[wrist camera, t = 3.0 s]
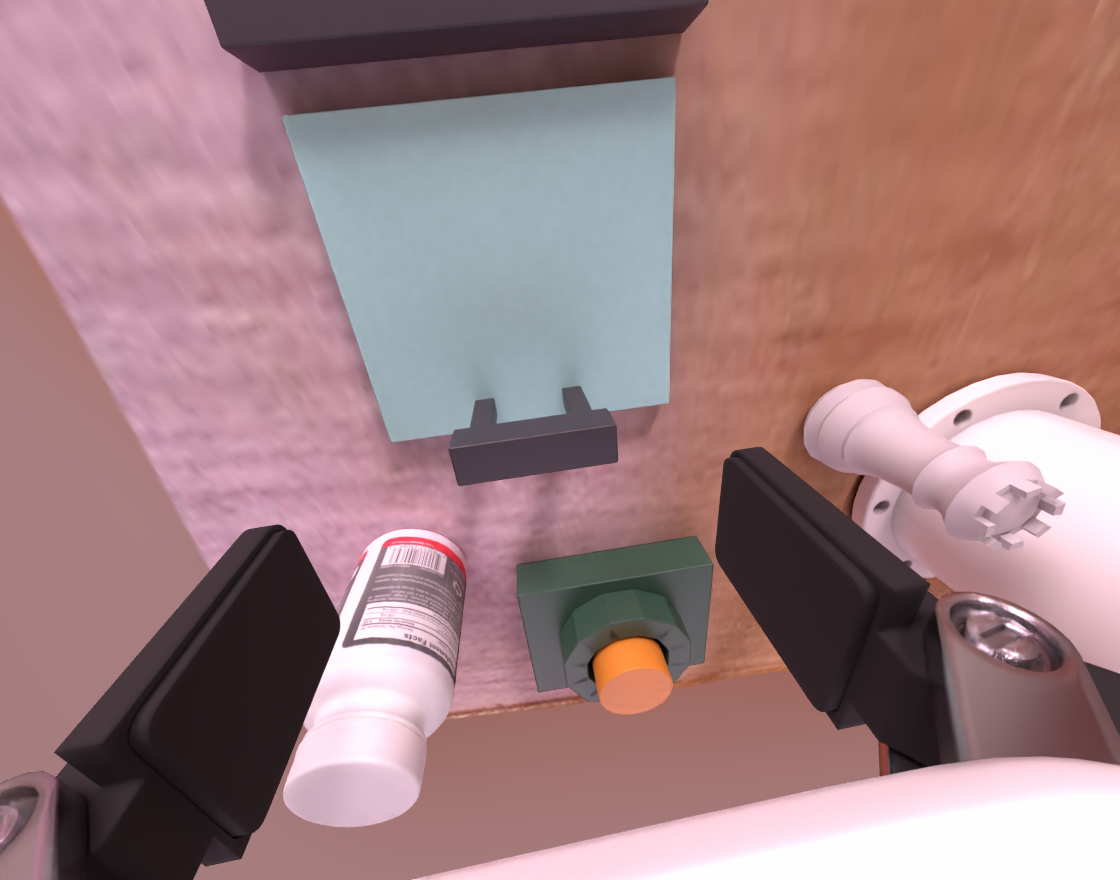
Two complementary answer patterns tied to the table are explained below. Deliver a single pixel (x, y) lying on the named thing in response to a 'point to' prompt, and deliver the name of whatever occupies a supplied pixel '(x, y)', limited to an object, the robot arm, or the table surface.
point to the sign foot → (427, 27)
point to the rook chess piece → (928, 465)
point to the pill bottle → (382, 683)
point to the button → (631, 675)
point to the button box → (614, 608)
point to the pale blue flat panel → (503, 264)
